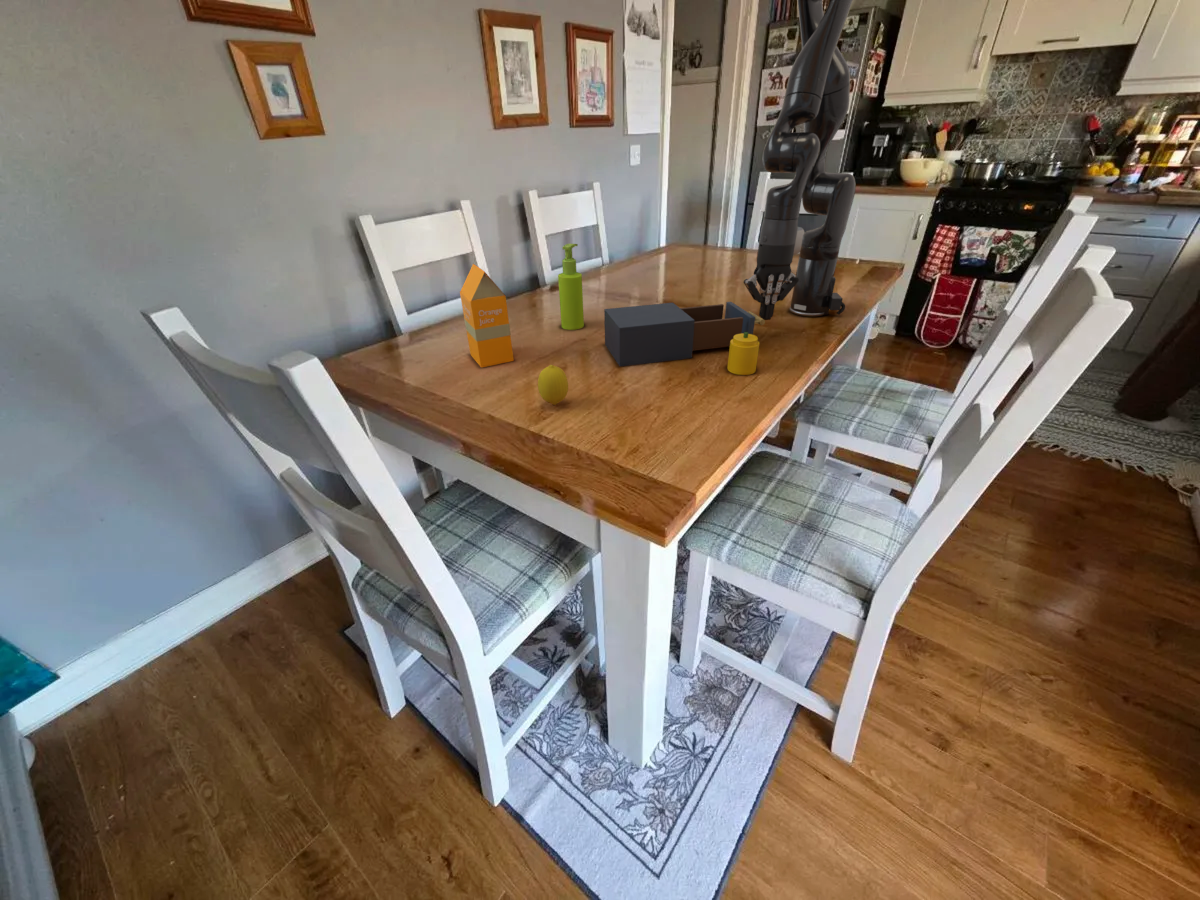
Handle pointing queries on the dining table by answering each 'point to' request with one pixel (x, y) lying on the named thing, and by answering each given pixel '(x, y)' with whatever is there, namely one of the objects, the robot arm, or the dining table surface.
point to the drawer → (720, 324)
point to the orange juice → (486, 319)
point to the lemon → (553, 384)
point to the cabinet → (648, 333)
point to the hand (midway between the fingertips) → (765, 319)
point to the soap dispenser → (570, 292)
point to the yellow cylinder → (743, 354)
